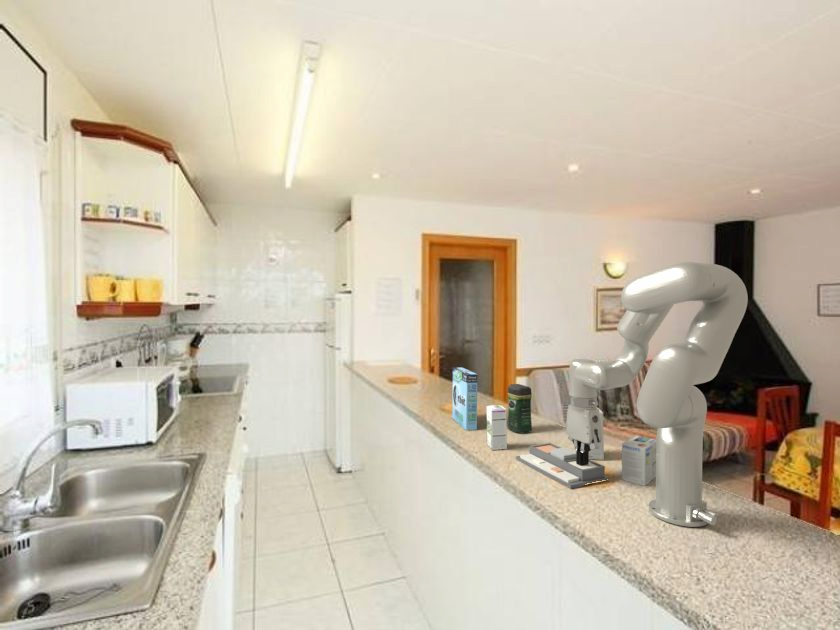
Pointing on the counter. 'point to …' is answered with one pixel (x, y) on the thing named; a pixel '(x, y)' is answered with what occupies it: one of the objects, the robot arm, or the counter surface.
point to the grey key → (563, 453)
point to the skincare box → (598, 453)
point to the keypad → (562, 468)
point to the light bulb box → (639, 460)
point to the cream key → (583, 465)
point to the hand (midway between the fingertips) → (582, 464)
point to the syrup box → (496, 427)
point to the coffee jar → (519, 408)
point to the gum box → (464, 398)
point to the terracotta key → (546, 448)
